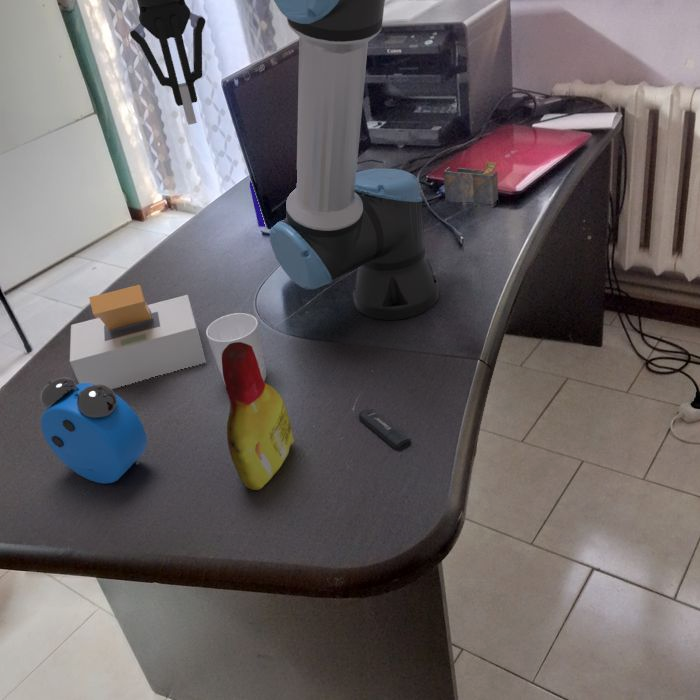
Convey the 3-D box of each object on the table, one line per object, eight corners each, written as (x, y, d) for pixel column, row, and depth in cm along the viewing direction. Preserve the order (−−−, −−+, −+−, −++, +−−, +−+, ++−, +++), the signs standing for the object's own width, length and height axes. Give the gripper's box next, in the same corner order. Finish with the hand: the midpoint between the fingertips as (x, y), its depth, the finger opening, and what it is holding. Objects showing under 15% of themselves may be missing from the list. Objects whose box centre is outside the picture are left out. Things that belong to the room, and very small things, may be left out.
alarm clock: (160, 465, 102) (127, 378, 93) (131, 496, 97) (95, 408, 89) (89, 447, 107) (52, 363, 99) (59, 475, 103) (18, 391, 94)
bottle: (269, 502, 93) (235, 376, 82) (225, 495, 95) (186, 371, 84) (304, 440, 102) (278, 319, 91) (263, 435, 104) (232, 316, 93)
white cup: (230, 401, 112) (215, 347, 106) (214, 377, 118) (199, 324, 112) (277, 382, 114) (265, 328, 109) (259, 359, 120) (246, 307, 115)
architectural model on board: (499, 204, 159) (498, 161, 154) (493, 210, 157) (492, 166, 152) (451, 198, 165) (449, 157, 159) (445, 204, 163) (442, 162, 157)
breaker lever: (105, 319, 121) (89, 297, 110) (151, 307, 122) (139, 284, 111) (109, 335, 120) (93, 314, 109) (155, 322, 121) (144, 301, 110)
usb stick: (413, 446, 99) (412, 437, 98) (397, 455, 98) (396, 446, 97) (372, 413, 106) (370, 405, 105) (357, 421, 105) (356, 413, 104)
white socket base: (84, 358, 128) (70, 324, 124) (197, 328, 131) (187, 294, 127) (84, 396, 118) (69, 361, 114) (206, 362, 122) (195, 327, 118)
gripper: (191, -32, 123) (223, 109, 136) (114, -18, 121) (154, 124, 134) (197, -29, 117) (230, 119, 130) (115, -13, 115) (157, 135, 128)
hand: (191, 121), depth 132 cm, fingers closed
